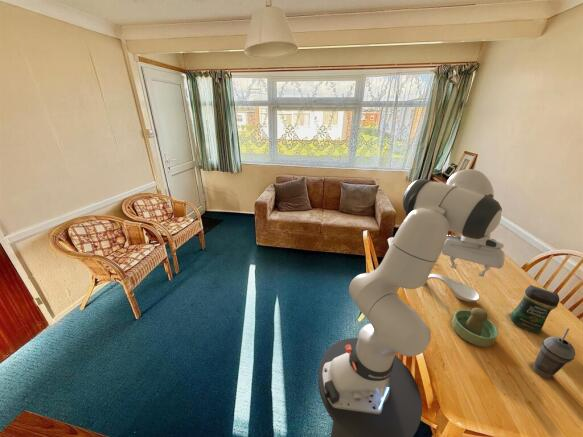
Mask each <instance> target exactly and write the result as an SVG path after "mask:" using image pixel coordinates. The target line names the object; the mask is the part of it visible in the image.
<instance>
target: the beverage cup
mask: <svg viewBox="0 0 583 437" xmlns="http://www.w3.org/2000/svg"><path fill="white" fill-rule="evenodd" d="M569 331H570V328H569V327H566V329H565V331H564V333H563V335H562V337H560V336H559V337H558V336H549V337H546V338H545V339H544V340H543V341H541V342H542V343H541V346H540V350H539V352H538V354H537V356H536V358H535V360H534V363H533V366H532V369H533V370H534V372H535V373H536V374H537V375H539V376H540V377H543V378H545V379H551V378H552V377H553V376H555V375H556V374H557V373H558V372H559V371H560V370H561V369H562V368H563V367H565V366H566V365H567V364H569V363H570V362H572V361H574V359H575V357H576V349H575V347H574V346H573V345H572V343H570V342H569V341H568V340H566V339H565V338H566V337H567V335H568V333H569Z"/></svg>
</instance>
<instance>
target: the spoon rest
mask: <svg viewBox="0 0 583 437" xmlns="http://www.w3.org/2000/svg"><path fill="white" fill-rule="evenodd" d="M430 279H436V280H440V281H442V282H444V284H445V285H446V286H447V287H448V288H449V290H450V292H451V293H452V294H453V295H454V296H455V297H456V298H457V299H459V300H461V301H464V302H469V303H472V302H473V303H474V302H477V301H479V300H480V294H479V293H478V292H477V290H475V289H474V288H473V287H471V285H470V286H469V285H468V284H466V283H463V282H460V281H457V280H455V279H452V278H450V277H448V276H445V275H443V274H439V273H430V275H429V276H428V278H427V280H426V282H425V284H426V283H427V281H428V280H430Z"/></svg>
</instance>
